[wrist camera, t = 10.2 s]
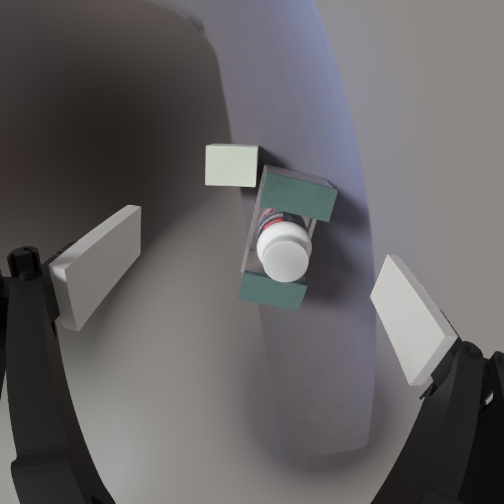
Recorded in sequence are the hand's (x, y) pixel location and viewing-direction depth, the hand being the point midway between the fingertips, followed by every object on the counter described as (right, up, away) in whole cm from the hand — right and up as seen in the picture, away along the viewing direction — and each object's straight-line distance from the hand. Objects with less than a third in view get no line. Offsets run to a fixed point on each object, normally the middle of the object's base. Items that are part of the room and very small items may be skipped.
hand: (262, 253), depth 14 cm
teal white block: (+3, +3, +19) cm, 19 cm away
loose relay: (-2, +10, +16) cm, 19 cm away
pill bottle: (+3, +3, +18) cm, 19 cm away
